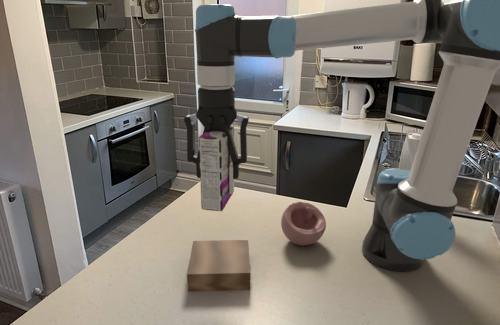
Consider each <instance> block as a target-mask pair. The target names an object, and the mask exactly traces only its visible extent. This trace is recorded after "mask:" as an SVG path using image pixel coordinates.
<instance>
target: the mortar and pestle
mask: <svg viewBox="0 0 500 325" xmlns="http://www.w3.org/2000/svg"><path fill="white" fill-rule="evenodd" d="M281 215H282V216H281V220H280V222H281V223H280V226H281V230H282V233H283V234H284V236H285V237H286V238H287V239H288V241H289V242H291V243H293V244H294V245H298V246H311V245H313V244H315V243H317V242H318V241H319V240H321V238H322V237H323V236H324V234H325V231H326V228H327V221H326V217H325V215H324V214H323V212H322V211H321V210H320V209H319V208H318V207H317V206H315V205H314V204H311V203H309V202H305V201H304V202H303V201H296V202H292V203H291V204H289V205H288V206H287V207H286V208H285V210H284V211H283V213H282V214H281Z"/></svg>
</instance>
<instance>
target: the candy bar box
mask: <svg viewBox="0 0 500 325" xmlns="http://www.w3.org/2000/svg"><path fill="white" fill-rule="evenodd" d="M234 128H235V126H234V125H233V124H231V126H230V129H231V134H232V137H233V141H234V139H235V135H234ZM228 130H229V129H228ZM234 142H235V141H234ZM198 151H199V158H200V178H199V180H200V200H201V201H200V202H201V203H200V204H201V206H200V207H201V210H203V211H214V212H223V210H224V209H225V207H226V205H227V204H228V203H229V200H230V199H231V197H232V195H233V194H230V188H229V166H230V162H232V160H231V156H230V153H229V150H228V146H227V135H226V133H223V132H220V131H210V132H205V133H203V132H202V134H201V135H199V136H198Z"/></svg>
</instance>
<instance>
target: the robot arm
mask: <svg viewBox="0 0 500 325" xmlns="http://www.w3.org/2000/svg"><path fill="white" fill-rule="evenodd" d="M194 32H195V45H196V46H195V47H196V48H195V49H196V76H197V77H196V80H197V81H196V82H197V83H196V84H197V85H198V86H199V87H198V88H197V104H198V105H197V111H196V112H195V113H193V114H187V115H186V116H184V118H183V121H184V125H185V126H186V147H187V148H186V159H187V161H188V163H194V164H195V167H196V168H195V170H196V177H197V178H198V179H200V158H199V150H198V152H197V155H196V146H195V145H196V135H195V134H196V127H195V125H196V124H197V120H198V121H199V122H200V124H201V125H202V126H203V132H202V134H203V133H205V132H210V131H220V132H223V133H226V135H227V146H228V150H229V153H230V156H231V160H232V162H230V166H229V188H230V194H232V195H233V194H234V192H235V180H237V179H238V178H239V176H240V165H241V164H245V163H247V159H248V142H247V141H248V140H247V139H248V137H247V126H248V124H249V120H250V117H249V116H248V115H241V114H239V113H238V112H237V110H236V107H235V106H236V104H235V102H236V101H235V99H236V98H235V96H236V94H235V93H236V92H235V91H236V90H235V88H234V87H233V86H234V85H235V78H236V77H235V57H241V58H242V57H246V58H247V57H249V58H250V57H251V58H274V59H281V58H292V57H293V56H294V55H295V52H297V51H306V50H317V49H327V48H337V47H338V48H339V47H347V46H359V45H369V44H379V43H391V42H397V41H398V42H400V41H410V40H412V41H413V42H414V43H415V44H417V45H419V44H431V43H432V44H440V46H439V50H438V54H439V56H440V57H441V60H442V61H443V65H442V66H443V67H442V69H441V73H440V76H439V79H438V83H437V86H436V89H435V92H434V94H433V98H432V101H431V105H430V108H429V111H428V114H427V117H426V121H425V124H424V127H423V129H422V130H423V131H422V132H421V133H422V136H421V139H420V142H419V146H418V149H417V152H416V155H415V158H414V161H413V165H412V168H411V171H410V170H401V169H399V168H397V169H396V168H393V169H385V170H382V171H381V172H379V174H378V178H377V181H376V191H375V198H374V199H375V200H374V206H373V214H372V223H371V225H370V228H369V229H368V231H367V233H366V235H365V236H364V238H363V240H362V241H363V242H362V245H361V252H362V255H363V256H364V257H365V259H367V261H369V262H370V263H372V264H373V265H375V266H378V267H379V268H383V269H385V270H389V271H394V272H410V271H412V272H413V271H415V270H417V269H419V268H421V266H422V265H423V264H424V260H431V259H435V257H437V256H442V255H444V254H445V253H447V251H448V250H450V248H452V246H453V245H454V243H455V240H456V228H455V225H454V223H453V221H452V218H453V216H454V212H455V209H456V207H457V204H458V199H457V197H456V195H455V194H454V191H453V190H454V187H455V185H456V182H457V179H458V176H459V173H460V171H461V168H462V165H463V162H464V160H465V156H466V154H467V151H468V148H469V145H470V142H471V140H472V138H473V135H474V131H475V129H476V126H477V123H478V120H479V118H480V115H481V112H482V109H483V106H484V104H485V101H486V98H487V96H488V92H489V90H490V87H491V85H492V82H493V79H494V76H495V74H496V72H497V71H499V70H500V0H413V1H407V2H397V3H391V4H382V5H381V4H380V5H372V6H362V7H356V8H346V9H337V10H329V11H322V12H321V11H320V12H310V13H304V14H302V13H301V14H295V15H261V16H260V15H258V16H257V15H256V16H251V15H250V16H246V15H245V16H242V15H236V12H235V7H234V6H233V5H232V4H219V3H218V4H216V3H214V4H212V3H208V4H206V3H204V4H200V5H198V6H197V8H196V9H195V29H194ZM235 120H236V121H237V125H238V126H240V128H239V137H240V138H239V140H240V141H239V142H240V156H239V155H238V154H239V153H238V151H237V147H236V144H235V141H233V137H232V134H231V129H230V126H231V125H233V123H234V122H235ZM228 129H229V130H228Z"/></svg>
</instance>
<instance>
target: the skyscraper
mask: <svg viewBox="0 0 500 325" xmlns="http://www.w3.org/2000/svg"><path fill="white" fill-rule="evenodd" d="M422 133H423V132H419V131H417V130H416V131H415V130H406V131H405V135H406V137H405V140H404V142H403V145H402V149H401V153H400V158H399V161H398V162H399V164H398V169H401V170H410V171H411V168H412V165H413V161H414V158H415V155H416V152H417V149H418V146H419V142H420V139H421V136H422Z"/></svg>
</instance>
